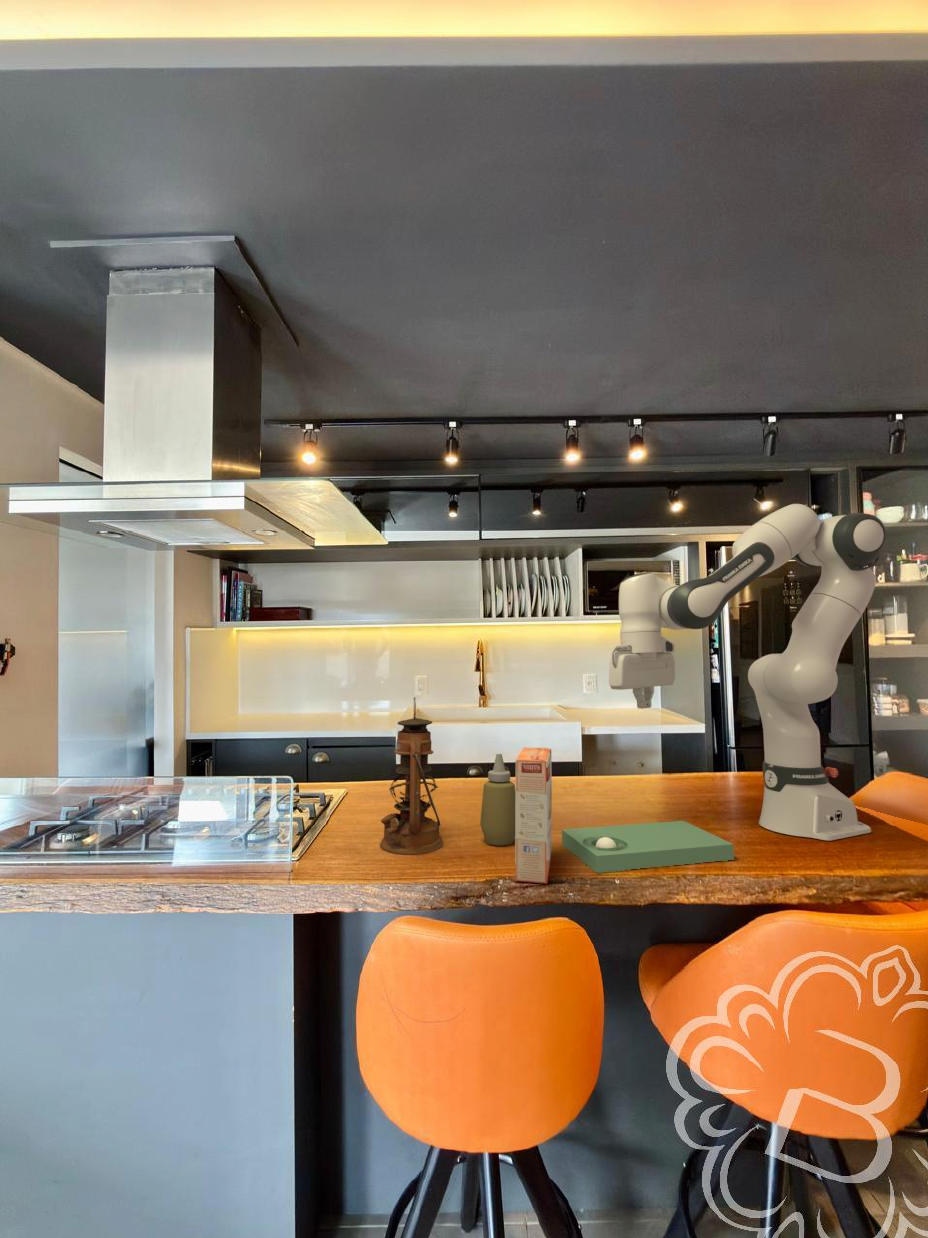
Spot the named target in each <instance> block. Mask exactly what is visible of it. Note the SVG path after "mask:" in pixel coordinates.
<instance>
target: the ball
mask: <svg viewBox="0 0 928 1238" xmlns="http://www.w3.org/2000/svg"><path fill="white" fill-rule="evenodd" d="M596 847H600V848H615V847H617V846H616V844H615V842H614V841H613V840H612V839H610V838H608V837H603V838H600V839H599V840H598V841H597V843H596Z"/></svg>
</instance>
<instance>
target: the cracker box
mask: <svg viewBox="0 0 928 1238" xmlns="http://www.w3.org/2000/svg"><path fill="white" fill-rule="evenodd" d="M552 771H553V770H552V749H551V748H547V747H523V748H522V749H521V751H519V754H518V755H517V757H516V758H515V782H514V784H515V839H514V844H515V847H514V849H515V851H514V856H515V857H514V858H515V859H514V865H515V866H514V870H515V871H514V876H515V881H516V882H522V883H523V882H524V883H535V884H536V883H537V884H546V885H547V884H548V881H549V880H548V879H549V873H550V866H551V860H552V832H553V831H552V827H553V826H552V814H553V813H552V810H553V809H552V808H553V807H552V802H553V801H552V800H553V799H552V798H553V797H552V795H553V794H552V793H553V791H552V789H553V788H552V787H553V785H552V782H553V780H552V778H553V777H552Z"/></svg>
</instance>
